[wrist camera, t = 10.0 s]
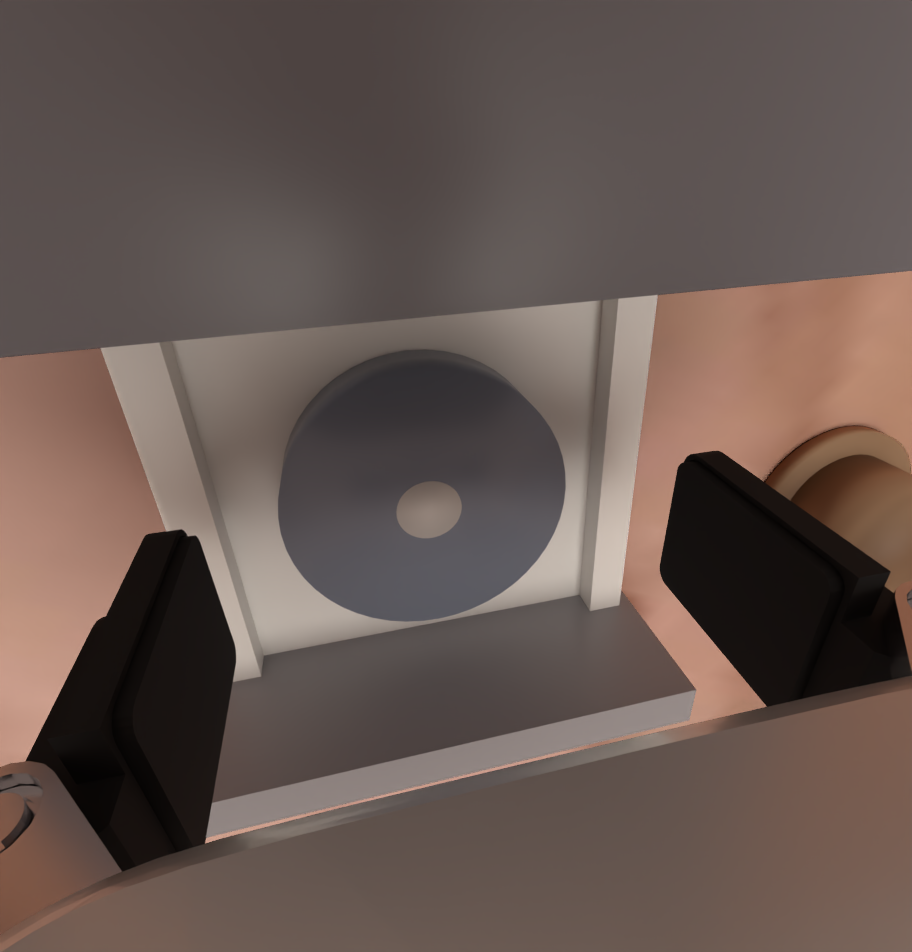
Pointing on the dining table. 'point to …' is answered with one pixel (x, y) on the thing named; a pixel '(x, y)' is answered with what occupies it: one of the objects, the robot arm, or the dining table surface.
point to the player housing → (434, 158)
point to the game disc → (418, 486)
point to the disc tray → (415, 642)
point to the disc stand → (856, 492)
